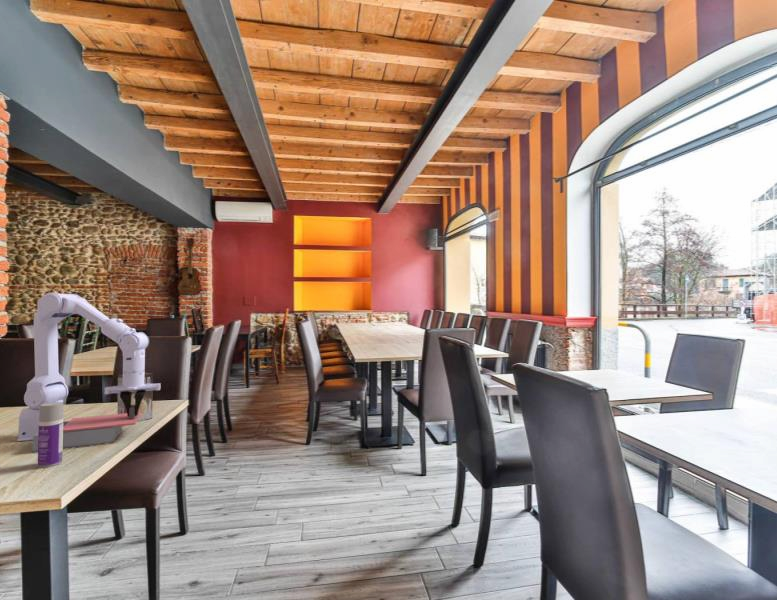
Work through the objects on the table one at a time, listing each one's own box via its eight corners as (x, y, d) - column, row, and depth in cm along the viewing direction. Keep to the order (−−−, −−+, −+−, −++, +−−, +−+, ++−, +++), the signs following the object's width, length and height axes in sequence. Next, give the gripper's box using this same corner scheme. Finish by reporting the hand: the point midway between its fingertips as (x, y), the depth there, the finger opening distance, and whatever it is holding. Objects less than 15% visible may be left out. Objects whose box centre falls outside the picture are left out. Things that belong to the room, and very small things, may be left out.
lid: (58, 432, 108) (58, 417, 108) (73, 419, 120) (73, 406, 120) (134, 424, 115) (135, 410, 115) (141, 413, 128) (141, 401, 128)
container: (34, 469, 94) (36, 406, 95) (40, 462, 98) (42, 402, 99) (59, 465, 96) (61, 404, 97) (64, 459, 100) (66, 400, 101)
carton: (32, 452, 105) (33, 435, 105) (50, 437, 118) (51, 422, 118) (112, 443, 113) (113, 427, 113) (121, 429, 125) (122, 415, 126)
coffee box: (145, 415, 143) (146, 371, 143) (152, 418, 139) (153, 373, 139) (116, 421, 135) (117, 374, 136) (123, 424, 132) (124, 376, 132)
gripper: (102, 374, 115) (101, 421, 114) (159, 371, 121) (158, 415, 121) (107, 371, 121) (106, 415, 121) (161, 368, 127) (160, 410, 127)
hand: (132, 415), depth 121 cm, fingers closed on lid
